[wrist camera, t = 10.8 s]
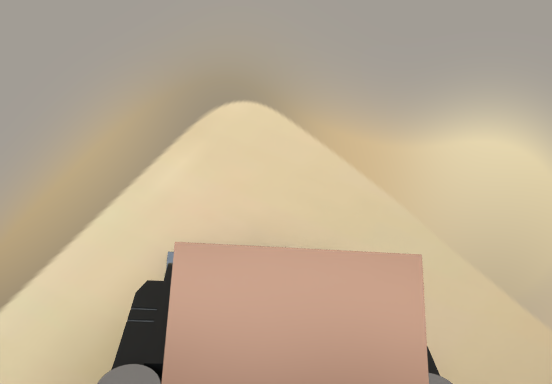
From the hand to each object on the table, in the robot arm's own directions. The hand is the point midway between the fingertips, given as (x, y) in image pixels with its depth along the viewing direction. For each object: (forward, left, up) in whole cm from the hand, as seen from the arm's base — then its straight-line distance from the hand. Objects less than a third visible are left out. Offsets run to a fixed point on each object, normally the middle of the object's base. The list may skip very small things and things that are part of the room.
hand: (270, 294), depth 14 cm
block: (+1, +1, -5) cm, 5 cm away
